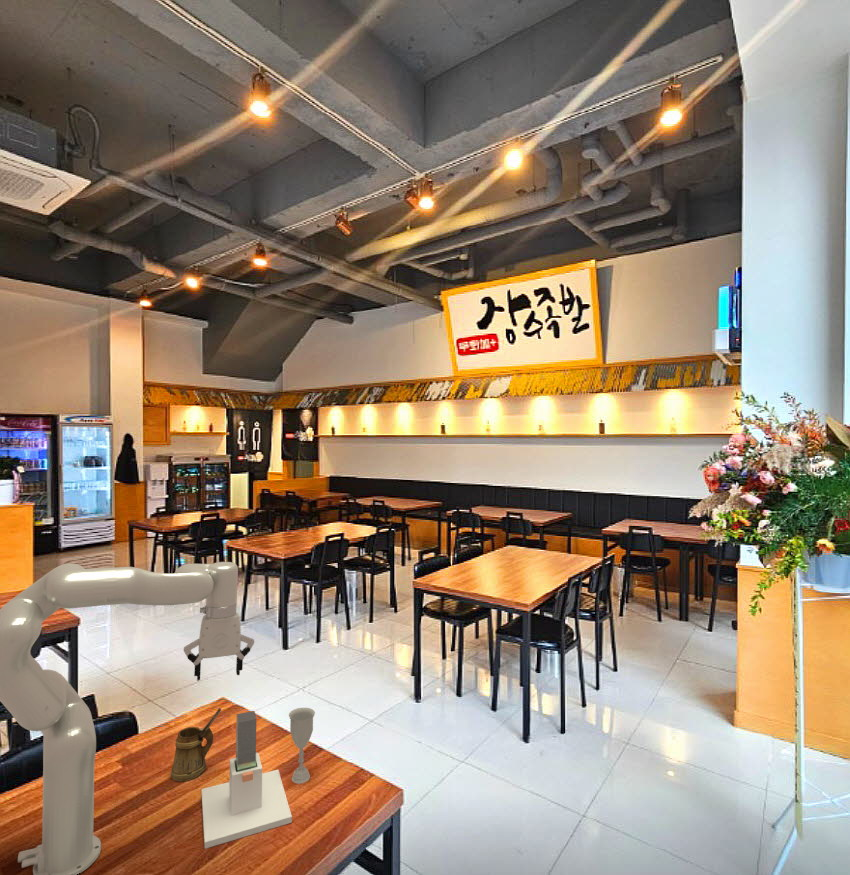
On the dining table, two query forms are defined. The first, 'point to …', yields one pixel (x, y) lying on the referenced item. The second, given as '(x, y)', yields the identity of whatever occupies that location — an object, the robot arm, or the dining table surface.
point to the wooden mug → (192, 751)
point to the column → (246, 741)
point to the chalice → (301, 738)
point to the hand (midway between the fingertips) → (218, 675)
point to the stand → (244, 805)
